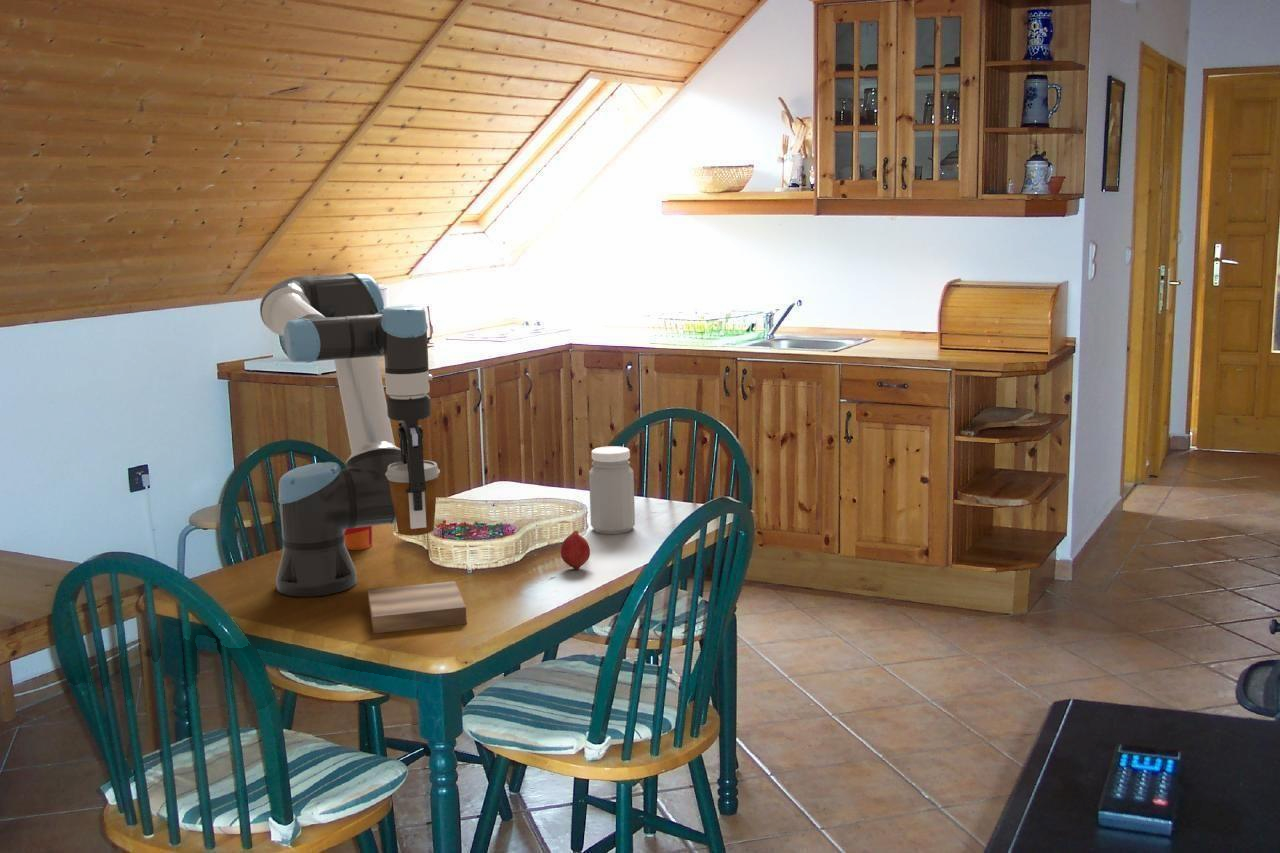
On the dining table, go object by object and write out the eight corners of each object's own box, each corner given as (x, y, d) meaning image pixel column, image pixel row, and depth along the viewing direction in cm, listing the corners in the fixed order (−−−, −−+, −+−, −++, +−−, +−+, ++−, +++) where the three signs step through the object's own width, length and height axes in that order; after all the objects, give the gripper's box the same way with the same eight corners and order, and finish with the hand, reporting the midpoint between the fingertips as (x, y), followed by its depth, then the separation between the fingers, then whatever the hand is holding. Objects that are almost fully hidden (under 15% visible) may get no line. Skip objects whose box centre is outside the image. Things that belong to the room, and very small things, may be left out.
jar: (589, 535, 283) (586, 454, 280) (592, 524, 293) (589, 445, 290) (634, 535, 283) (631, 453, 280) (635, 523, 293) (633, 445, 289)
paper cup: (355, 540, 285) (351, 477, 282) (384, 543, 281) (380, 480, 279) (332, 549, 278) (327, 485, 275) (361, 553, 274) (357, 488, 272)
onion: (561, 573, 256) (559, 534, 255) (561, 565, 262) (560, 526, 260) (590, 572, 256) (589, 533, 255) (590, 564, 262) (589, 525, 260)
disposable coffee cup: (433, 539, 226) (429, 471, 224) (380, 537, 228) (376, 470, 226) (450, 524, 236) (446, 459, 233) (399, 523, 237) (396, 459, 235)
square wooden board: (368, 605, 239) (367, 589, 239) (455, 596, 243) (455, 581, 243) (373, 633, 224) (372, 616, 224) (466, 623, 228) (465, 607, 228)
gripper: (438, 403, 218) (444, 534, 222) (422, 385, 238) (428, 505, 242) (392, 406, 216) (400, 538, 220) (380, 387, 236) (388, 509, 240)
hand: (415, 521), depth 231 cm, fingers closed on disposable coffee cup, 8 cm apart
